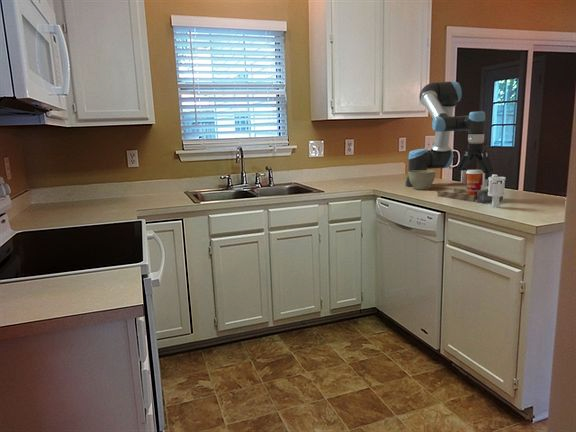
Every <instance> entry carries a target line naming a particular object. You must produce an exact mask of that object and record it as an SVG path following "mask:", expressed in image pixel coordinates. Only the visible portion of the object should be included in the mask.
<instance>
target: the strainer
mask: <svg viewBox="0 0 576 432" xmlns="http://www.w3.org/2000/svg"><path fill="white" fill-rule="evenodd" d="M505 184H506V177H505V176H498V174H492V175H491V176H489V179H488V188H487V189H488V196H492V202H491V208H494V207H498V208H500V201H499V198H500V196H503V197H504V196H505Z"/></svg>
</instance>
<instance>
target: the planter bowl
mask: <svg viewBox="0 0 576 432" xmlns="http://www.w3.org/2000/svg"><path fill="white" fill-rule="evenodd" d="M407 173H408V174H409V180H410V183H411V184H412V186H413V187H412V189H413V190H422V191H423V190H429V189H430V187H431V186H432V184H433V183H434V181H435V177H436V173H437V171H435V170H431V169H427V170H413V171H407ZM408 174H407V175H408Z"/></svg>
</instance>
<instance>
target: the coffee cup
mask: <svg viewBox="0 0 576 432" xmlns="http://www.w3.org/2000/svg"><path fill="white" fill-rule="evenodd" d="M483 173H484V170H483V169H467V170H466V190H467V194H469V195H474V196H476V201H477V191H478V190H482V184H483Z"/></svg>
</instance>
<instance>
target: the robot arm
mask: <svg viewBox="0 0 576 432" xmlns="http://www.w3.org/2000/svg"><path fill="white" fill-rule="evenodd" d="M462 95H463V94H462V87H461V84H460V83H459V82H457V81H440V82H438V81H436V82H430V83H428V84H426V85H424V87H422V89H421V90H420V93H419V101H420V103H421V104H422V105H423V106H424V107H425V108H426V110H427V111H428V113H429V115H430V117H431V118H432V122H431V127H432V130H433V131H434V132H435V134H434V142H433V143H434V144H433V145H432V146H431V147H430V150H429V149H428V148H418V149H413V150H410V151H409V152H408V158H407V159H408V167H407V168H408V171H413V170H431V169H432V170H434V169H435V170H436V169H448V168H449V167H451V165H452V163H453V159H454V152H453V150H452V149H451V147H450V146H449V144H450V136H451V132H457V131H458V132H459V131H467V132H468V133H467V141H468V143H467V151H463V152H462V156H461V159H460V161H459V163H458V165H457V166H456V167H457V170H459V171H460V172H459V173H460V174H459V175H460V184H464V183H467V173H466V172H467V170H466V169H467V167H469V165H470V163H471V162H477V163H478V164H479V166H480V167H481V170H482V171H483V173H482V183H481V187H484V186H488V184H489V180H488V179H489V177H490V173H492V172H493V171H494V169H493V166H492V165H493V164H492V163H491V160H490V157H489V152H483V151H484V145H485V143H484V142H485V130H486V129H485V128H486V112H485V111H483V110H482V111H470V112H469V114H468V115H460V116H458V115H457V116H456V115H455V116H453V112H454V108H455V107H457V104H458V102H460V101H461V99H462V97H463V96H462ZM408 171H407V172H408ZM405 186H406V187H411V188H413V186H412V184H411V183H410V180H409V174H407V177H406V181H405Z"/></svg>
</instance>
